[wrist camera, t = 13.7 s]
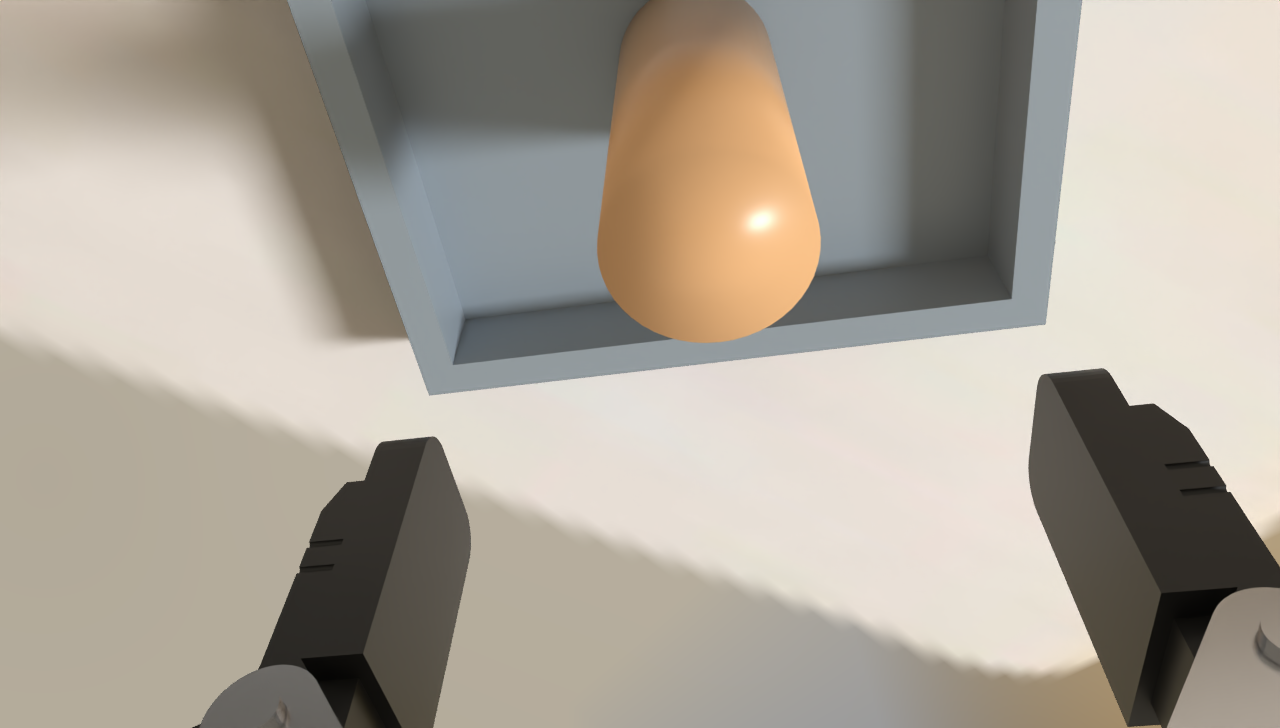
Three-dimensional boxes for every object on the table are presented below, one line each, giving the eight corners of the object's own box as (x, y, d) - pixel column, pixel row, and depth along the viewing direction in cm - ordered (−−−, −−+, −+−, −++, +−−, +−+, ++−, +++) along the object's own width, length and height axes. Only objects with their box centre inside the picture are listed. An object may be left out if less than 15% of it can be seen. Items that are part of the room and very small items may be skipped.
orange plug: (765, -28, 24) (815, 131, 16) (776, 124, 26) (825, 330, 18) (607, -4, 24) (578, 163, 16) (631, 144, 27) (616, 353, 19)
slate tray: (1069, -380, 20) (1125, -384, 18) (1014, 269, 30) (1045, 324, 27) (258, -229, 22) (210, -214, 20) (446, 338, 32) (429, 395, 29)
